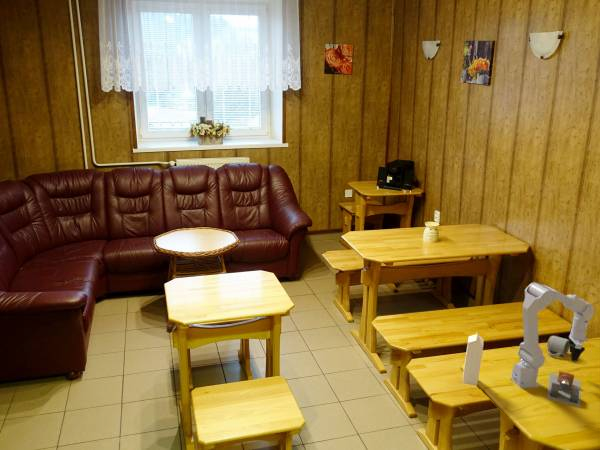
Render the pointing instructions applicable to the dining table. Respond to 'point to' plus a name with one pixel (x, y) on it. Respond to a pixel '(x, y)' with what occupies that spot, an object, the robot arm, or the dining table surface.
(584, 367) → the dining table surface
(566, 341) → the ceramic mug
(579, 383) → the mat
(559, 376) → the pin
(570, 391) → the hitch block
